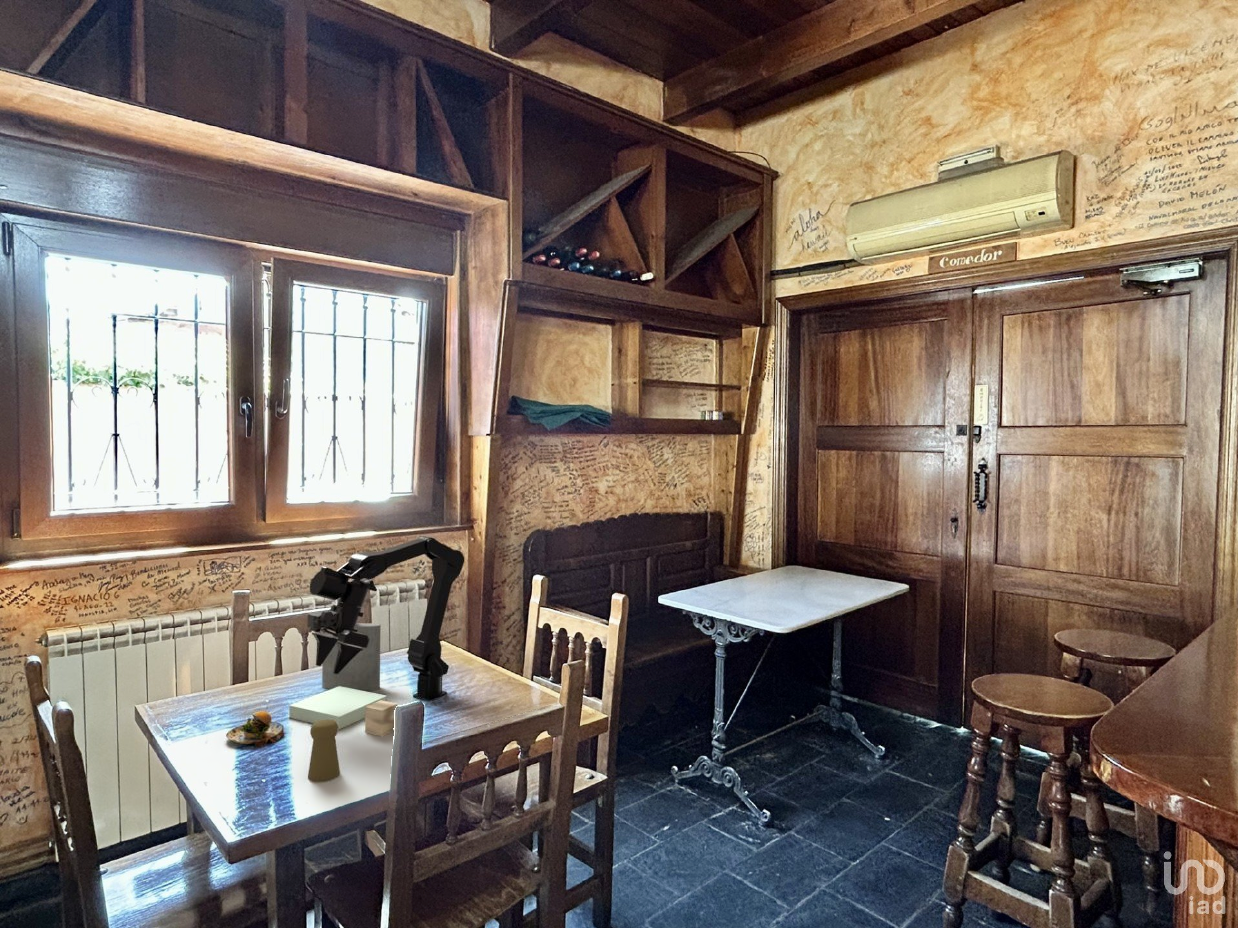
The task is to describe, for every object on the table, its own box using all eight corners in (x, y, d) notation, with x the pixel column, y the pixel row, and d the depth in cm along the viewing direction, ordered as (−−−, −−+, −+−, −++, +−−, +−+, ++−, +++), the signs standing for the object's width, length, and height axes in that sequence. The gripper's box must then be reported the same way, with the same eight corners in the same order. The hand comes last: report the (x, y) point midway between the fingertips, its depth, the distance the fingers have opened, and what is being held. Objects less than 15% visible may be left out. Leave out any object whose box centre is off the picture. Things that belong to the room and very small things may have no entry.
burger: (228, 732, 170) (228, 700, 170) (284, 725, 175) (284, 694, 174) (223, 752, 159) (223, 718, 159) (283, 745, 164) (283, 711, 163)
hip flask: (381, 686, 203) (382, 614, 202) (375, 691, 199) (376, 617, 198) (325, 684, 204) (326, 612, 203) (318, 689, 200) (319, 615, 199)
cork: (313, 768, 152) (313, 715, 151) (343, 768, 152) (344, 715, 152) (303, 782, 146) (303, 727, 145) (334, 781, 146) (335, 726, 146)
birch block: (380, 725, 176) (380, 700, 176) (396, 728, 174) (397, 703, 173) (365, 732, 171) (365, 706, 171) (381, 736, 169) (382, 710, 169)
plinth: (339, 697, 194) (339, 685, 193) (386, 707, 187) (386, 695, 187) (289, 717, 179) (289, 705, 179) (339, 729, 172) (339, 716, 172)
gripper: (302, 591, 179) (278, 655, 175) (337, 602, 166) (312, 671, 162) (343, 602, 186) (321, 664, 182) (380, 613, 173) (356, 680, 169)
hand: (326, 669), depth 173 cm, fingers open, 9 cm apart
